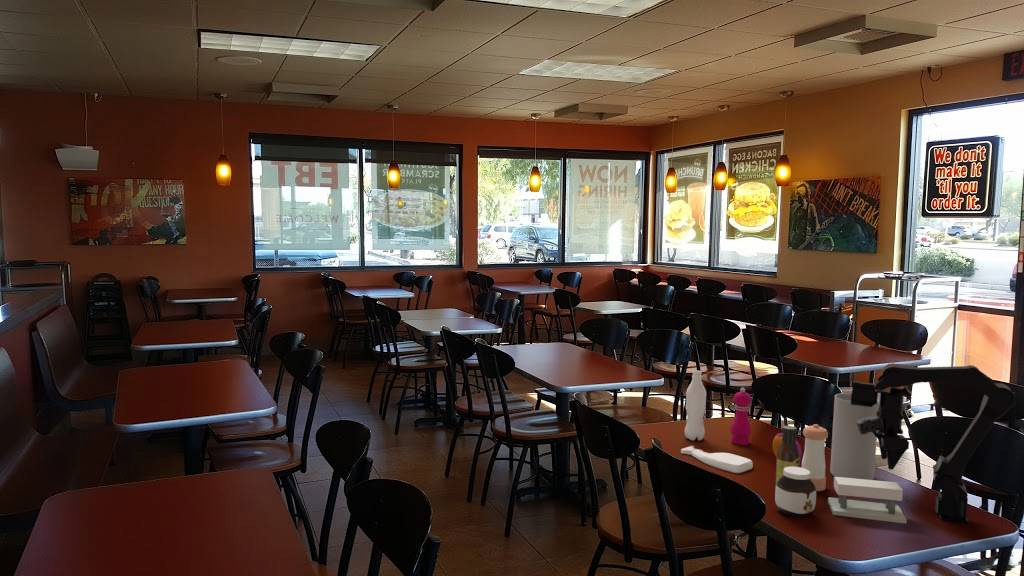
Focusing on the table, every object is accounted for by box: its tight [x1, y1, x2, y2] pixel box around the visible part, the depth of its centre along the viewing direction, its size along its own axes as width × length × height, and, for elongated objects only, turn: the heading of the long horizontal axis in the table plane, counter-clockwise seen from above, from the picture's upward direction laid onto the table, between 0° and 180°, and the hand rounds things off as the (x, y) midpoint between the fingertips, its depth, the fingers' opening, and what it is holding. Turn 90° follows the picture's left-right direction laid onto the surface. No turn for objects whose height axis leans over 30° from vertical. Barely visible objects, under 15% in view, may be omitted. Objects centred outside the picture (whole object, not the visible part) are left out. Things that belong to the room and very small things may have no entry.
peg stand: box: [827, 495, 907, 524], centre depth 201 cm, size 18×10×5 cm, turn 74°
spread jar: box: [774, 466, 817, 518], centre depth 202 cm, size 12×11×12 cm
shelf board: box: [833, 476, 904, 502], centre depth 201 cm, size 16×6×3 cm, turn 77°
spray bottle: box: [680, 445, 754, 474], centre depth 242 cm, size 3×11×24 cm
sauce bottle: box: [775, 425, 801, 485], centre depth 212 cm, size 7×6×20 cm
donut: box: [772, 432, 802, 460], centre depth 240 cm, size 8×9×10 cm
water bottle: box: [684, 369, 707, 441], centre depth 265 cm, size 7×7×25 cm
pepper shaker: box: [801, 423, 829, 492], centre depth 219 cm, size 7×7×19 cm
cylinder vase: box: [829, 392, 880, 480], centre depth 228 cm, size 12×12×25 cm
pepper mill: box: [729, 387, 752, 446], centre depth 262 cm, size 7×7×20 cm
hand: (887, 463), depth 205 cm, fingers open, 9 cm apart
